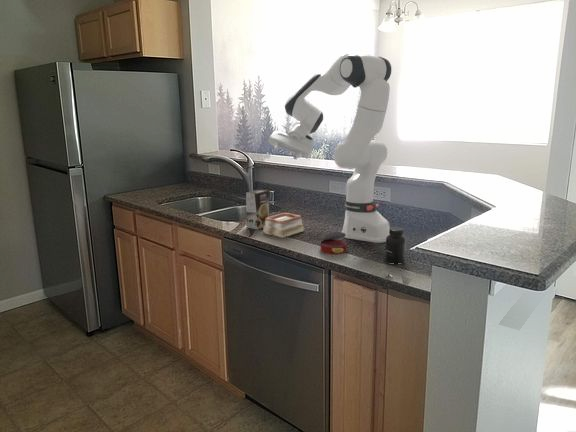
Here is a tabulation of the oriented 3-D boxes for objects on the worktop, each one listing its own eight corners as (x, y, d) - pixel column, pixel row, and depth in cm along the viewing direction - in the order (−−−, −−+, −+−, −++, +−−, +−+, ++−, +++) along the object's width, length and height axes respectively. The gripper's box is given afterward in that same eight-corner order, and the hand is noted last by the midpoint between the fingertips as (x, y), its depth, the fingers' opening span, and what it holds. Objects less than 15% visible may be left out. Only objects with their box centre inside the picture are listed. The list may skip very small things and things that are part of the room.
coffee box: (257, 229, 201) (256, 193, 198) (246, 227, 205) (245, 192, 201) (269, 225, 209) (269, 190, 205) (258, 223, 212) (257, 188, 208)
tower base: (303, 230, 199) (303, 215, 197) (282, 237, 189) (282, 222, 188) (284, 226, 206) (284, 212, 204) (263, 233, 196) (263, 217, 195)
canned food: (322, 264, 171) (310, 241, 170) (330, 254, 180) (318, 231, 179) (349, 255, 166) (336, 231, 164) (355, 244, 174) (343, 221, 173)
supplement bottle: (383, 263, 158) (384, 230, 155) (386, 257, 164) (387, 225, 161) (403, 266, 155) (405, 232, 153) (405, 259, 162) (407, 227, 159)
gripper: (276, 124, 210) (264, 139, 200) (317, 140, 207) (308, 156, 198) (273, 135, 214) (262, 150, 204) (314, 151, 212) (304, 167, 202)
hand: (285, 153), depth 201 cm, fingers open, 8 cm apart
